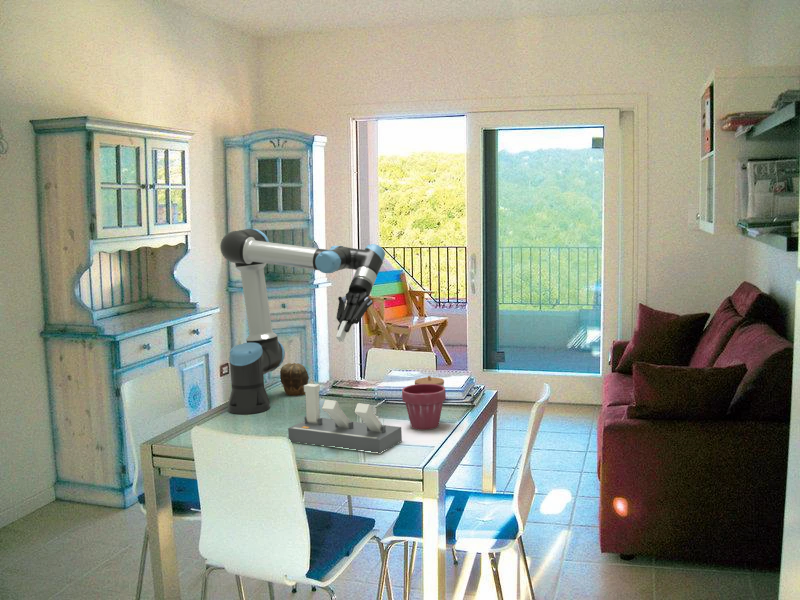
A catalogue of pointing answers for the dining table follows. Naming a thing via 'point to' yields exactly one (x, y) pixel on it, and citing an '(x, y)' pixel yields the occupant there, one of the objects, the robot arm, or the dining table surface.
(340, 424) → the middle lever
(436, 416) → the plant pot
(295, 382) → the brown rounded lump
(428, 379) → the lidded jar
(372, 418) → the right lever
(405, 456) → the dining table surface
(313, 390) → the lever
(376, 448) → the breaker panel
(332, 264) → the robot arm
